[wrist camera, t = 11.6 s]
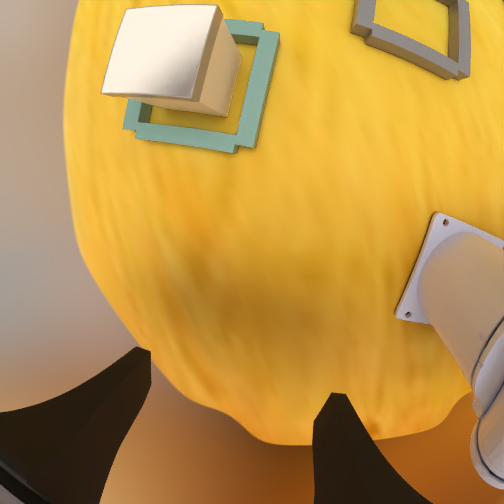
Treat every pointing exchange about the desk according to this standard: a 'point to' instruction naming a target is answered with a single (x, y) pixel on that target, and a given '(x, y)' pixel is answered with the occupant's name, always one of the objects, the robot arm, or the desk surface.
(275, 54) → the socket
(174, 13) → the plug
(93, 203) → the desk surface
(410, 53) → the socket
